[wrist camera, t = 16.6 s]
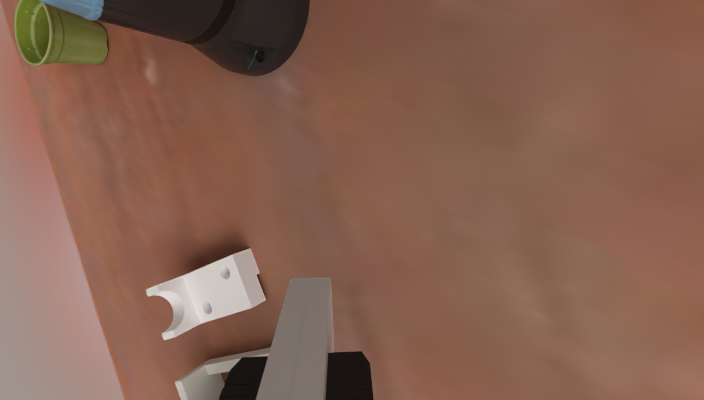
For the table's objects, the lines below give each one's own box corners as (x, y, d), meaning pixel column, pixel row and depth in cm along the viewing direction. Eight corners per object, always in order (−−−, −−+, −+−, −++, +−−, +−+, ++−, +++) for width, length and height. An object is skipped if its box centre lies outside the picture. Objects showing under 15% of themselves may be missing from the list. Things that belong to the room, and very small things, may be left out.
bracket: (209, 316, 56) (164, 340, 49) (193, 272, 56) (145, 289, 50) (270, 297, 50) (227, 321, 43) (251, 247, 50) (206, 263, 43)
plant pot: (94, -2, 58) (25, -24, 50) (123, 40, 56) (56, 24, 48) (74, 47, 62) (8, 34, 54) (101, 87, 60) (36, 80, 52)
